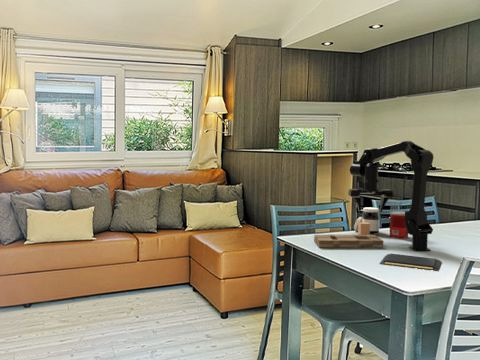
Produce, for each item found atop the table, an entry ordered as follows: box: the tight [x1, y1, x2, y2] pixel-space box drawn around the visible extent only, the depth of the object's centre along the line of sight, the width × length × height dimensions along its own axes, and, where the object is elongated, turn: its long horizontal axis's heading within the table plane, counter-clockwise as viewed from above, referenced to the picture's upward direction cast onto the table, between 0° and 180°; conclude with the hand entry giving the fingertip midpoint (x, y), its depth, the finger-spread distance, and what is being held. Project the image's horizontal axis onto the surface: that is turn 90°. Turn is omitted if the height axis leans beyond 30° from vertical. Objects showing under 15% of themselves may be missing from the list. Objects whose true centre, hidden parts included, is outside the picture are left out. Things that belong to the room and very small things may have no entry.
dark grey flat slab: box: [378, 252, 443, 272], centre depth 170 cm, size 20×2×15 cm
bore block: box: [313, 234, 384, 249], centre depth 197 cm, size 12×26×3 cm, turn 91°
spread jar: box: [353, 206, 380, 235], centre depth 223 cm, size 12×11×12 cm
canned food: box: [389, 210, 409, 239], centre depth 213 cm, size 8×8×11 cm
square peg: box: [357, 222, 371, 235], centre depth 209 cm, size 4×4×7 cm
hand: (370, 212), depth 210 cm, fingers open, 9 cm apart
